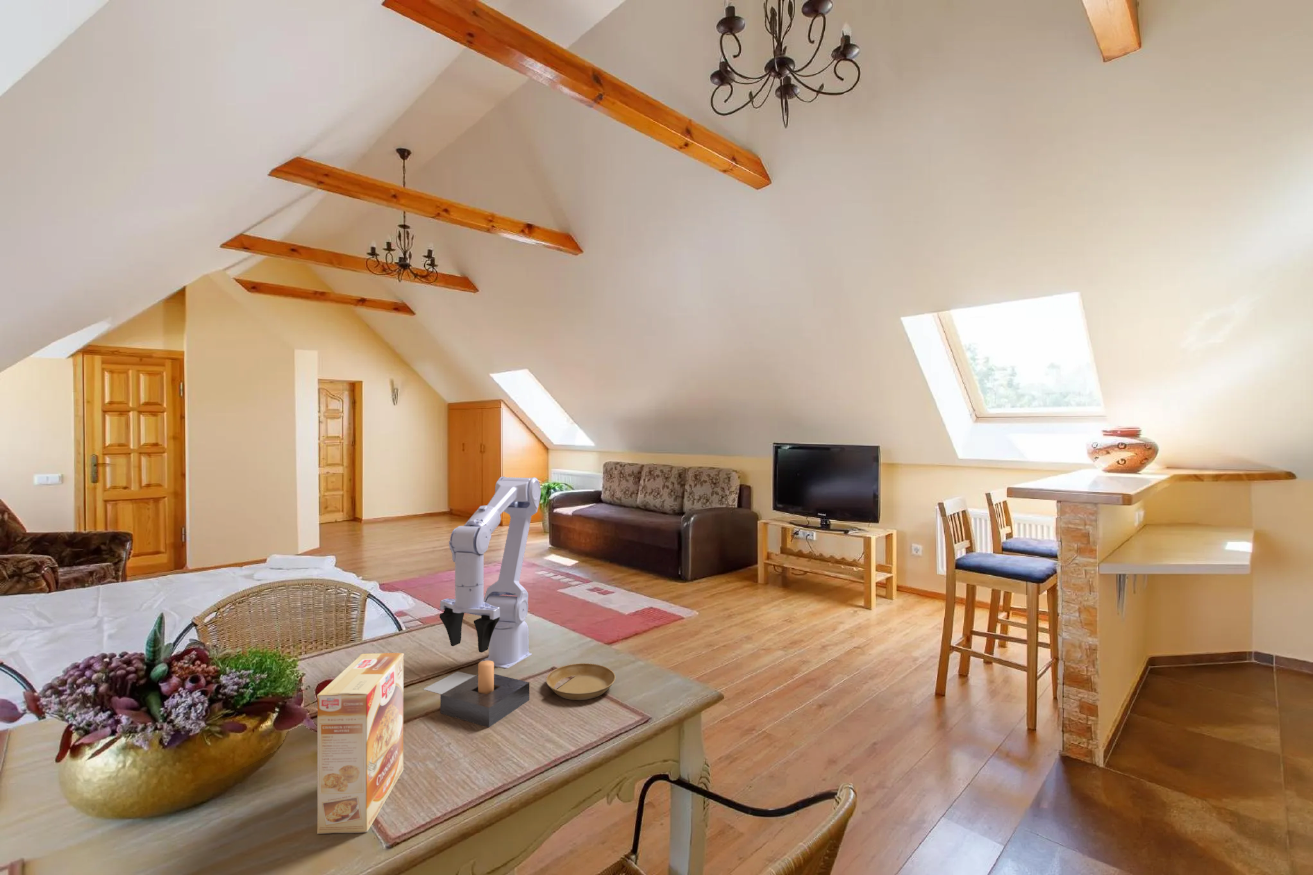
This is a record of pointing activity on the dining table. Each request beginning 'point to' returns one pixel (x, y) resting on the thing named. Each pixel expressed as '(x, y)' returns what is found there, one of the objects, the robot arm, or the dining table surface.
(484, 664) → the peg
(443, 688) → the mat
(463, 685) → the socket block
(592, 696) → the plant saucer
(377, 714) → the coffeecake box
